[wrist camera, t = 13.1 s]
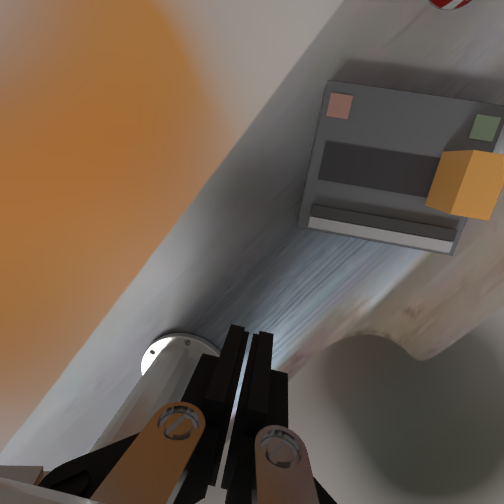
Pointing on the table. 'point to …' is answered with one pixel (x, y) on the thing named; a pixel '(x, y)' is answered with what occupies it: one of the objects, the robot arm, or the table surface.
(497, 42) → the table surface
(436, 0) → the soda can
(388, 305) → the table surface
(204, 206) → the table surface
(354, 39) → the table surface
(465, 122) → the panel
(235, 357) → the robot arm
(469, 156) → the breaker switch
